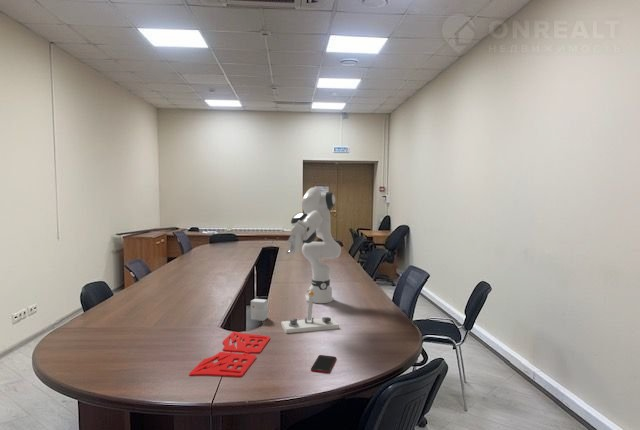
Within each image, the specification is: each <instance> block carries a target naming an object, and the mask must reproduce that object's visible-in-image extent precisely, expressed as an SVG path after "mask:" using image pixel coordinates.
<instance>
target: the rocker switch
mask: <svg viewBox="0 0 640 430" xmlns="http://www.w3.org/2000/svg"><path fill="white" fill-rule="evenodd" d="M321 318H322V321H325V322H327V321H331V318H332V317H331V318H330V317H329V316H327V317H326V316H324V317H321Z"/></svg>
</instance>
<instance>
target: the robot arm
mask: <svg viewBox="0 0 640 430" xmlns="http://www.w3.org/2000/svg"><path fill="white" fill-rule="evenodd" d="M335 204H336V196H335V194H334V193H333V192H330V191H327V192H321V190H320V188H318V187H315V186H314V187H313V186H312V187H310V188H309V189H307V190H306V192H305V194H304V195H303V197H302V199H301V208H302V210H303V212H297V213H296V214H295V215H293V217H292V218H291V221H290V224H291V226H292V228H291V230H290V236H289V237H288V240H287V241H286V245H288V246H289V249H287V251H286V255H287V256H290V254H293V255H296V254H297V253H298V252H299V250H300V249H301V253H302V255H303V257H304V258H305V259H307V260H308V262H309V263H310V265H311V270H312V271H311V272H312V279H311V285H310V286H309V287H308V289H306V293H305V295H304V296H305V300H306V302H308V303H309V292H311V291H312V292H313V293H314V295H313V303H314V304H328V303H331V302H332V301H335V297H333V288H332V287H331V286H330V285H331V279H330V267H329V266H328V265H327V264H326V263H323V262H322V261H321V259H328V260H329V259H330V260H333V259H338V258H340V256H341V254H342V248H341V245H340V244H339V242H337V241H336V240H334V238H333V236H332V231H331V230H332V228H331V227H332V225H331V223H332V222H331V218H332V217H331V212H330V211H331V210H332V209H333V208H334V206H335ZM316 237H317V238H319V239H320V240H322V241H315V239H316Z"/></svg>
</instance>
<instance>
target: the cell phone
mask: <svg viewBox="0 0 640 430" xmlns="http://www.w3.org/2000/svg"><path fill="white" fill-rule="evenodd" d="M336 361H337V357H336V356H333V355H324V354H319V355H317V358H316V360H315V361H314V363H313V364H312V366H311V368H310V371H311V372H314V373H321V374H330V373H331V371H332V369H333V367H334V365H335V363H336Z"/></svg>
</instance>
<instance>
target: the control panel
mask: <svg viewBox="0 0 640 430" xmlns="http://www.w3.org/2000/svg"><path fill="white" fill-rule="evenodd" d="M322 318H323V317H320V318H314V317H311V321H308V320H307V319H308V316H307V317H305V318H304V319H297V324H290V320H285V321H284V320H282V321H281V322H280V323H281V327H282V328H283V331H284V332H285V334H292V333H301V332H302V333H303V332H305V333H306V332H313V331H325V330H334V329H339V325H340V324H339V323H338V322H336V321H335V319H333V317H329V318H331V321H327V322H325V321H322Z"/></svg>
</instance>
